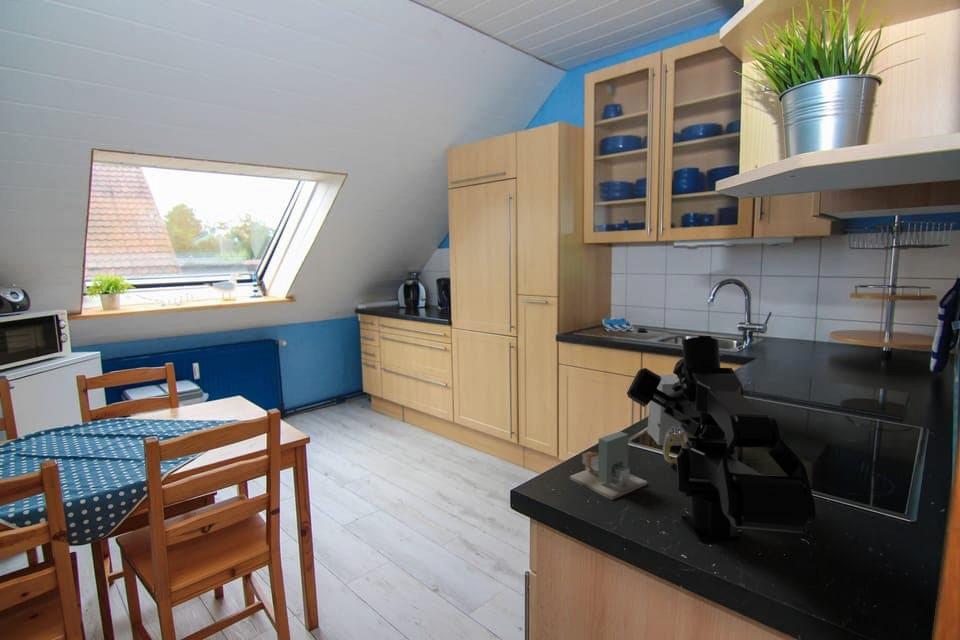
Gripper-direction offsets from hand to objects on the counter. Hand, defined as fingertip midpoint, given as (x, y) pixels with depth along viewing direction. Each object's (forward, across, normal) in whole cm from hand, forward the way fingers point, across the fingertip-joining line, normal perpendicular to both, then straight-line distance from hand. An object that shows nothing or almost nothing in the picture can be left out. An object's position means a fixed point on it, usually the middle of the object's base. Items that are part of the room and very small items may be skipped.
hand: (661, 412), depth 101 cm
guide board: (-1, +3, +18) cm, 18 cm away
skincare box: (+17, -8, 0) cm, 19 cm away
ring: (+5, -8, +7) cm, 12 cm away
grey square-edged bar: (0, +4, +17) cm, 18 cm away
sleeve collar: (-2, +4, +17) cm, 17 cm away
